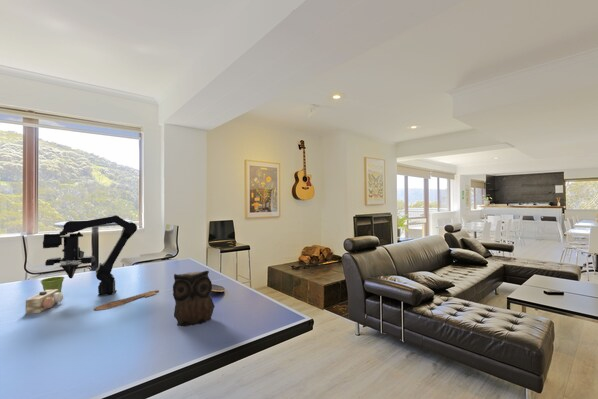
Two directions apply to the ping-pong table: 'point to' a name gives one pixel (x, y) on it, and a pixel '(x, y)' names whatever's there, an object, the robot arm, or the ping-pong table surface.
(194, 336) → the ping-pong table surface
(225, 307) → the ping-pong table surface
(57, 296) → the knob
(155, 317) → the ping-pong table surface
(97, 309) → the paddle
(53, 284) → the plant pot
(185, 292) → the owl
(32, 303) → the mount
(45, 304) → the knob
